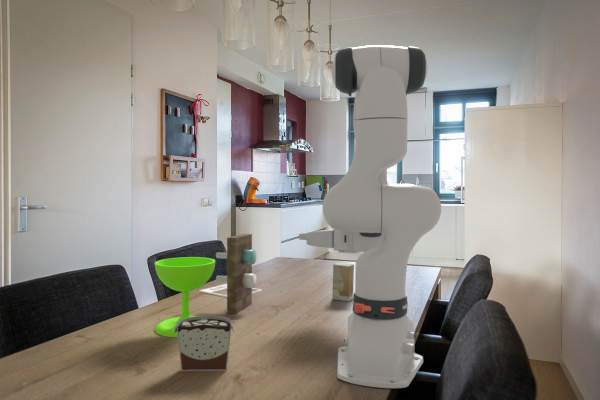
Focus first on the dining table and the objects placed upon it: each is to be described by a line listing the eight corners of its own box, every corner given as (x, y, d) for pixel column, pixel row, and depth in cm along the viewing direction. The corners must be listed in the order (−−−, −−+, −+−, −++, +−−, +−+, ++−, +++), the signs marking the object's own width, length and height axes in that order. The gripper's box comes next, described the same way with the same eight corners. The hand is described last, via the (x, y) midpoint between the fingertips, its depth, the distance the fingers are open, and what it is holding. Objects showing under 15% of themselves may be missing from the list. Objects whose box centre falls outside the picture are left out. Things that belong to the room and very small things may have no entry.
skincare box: (331, 299, 149) (332, 264, 149) (336, 296, 153) (337, 262, 153) (349, 301, 146) (349, 265, 146) (354, 299, 150) (354, 263, 150)
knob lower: (256, 286, 139) (256, 272, 139) (250, 289, 134) (250, 275, 134) (220, 283, 142) (220, 270, 142) (213, 286, 138) (213, 272, 138)
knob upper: (256, 262, 138) (256, 249, 138) (250, 265, 134) (250, 250, 134) (220, 260, 142) (220, 247, 142) (213, 263, 138) (213, 249, 138)
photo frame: (227, 283, 172) (262, 289, 162) (227, 285, 172) (262, 292, 162) (199, 289, 160) (234, 297, 150) (199, 292, 160) (234, 300, 150)
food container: (237, 359, 97) (237, 314, 97) (233, 370, 91) (233, 322, 90) (181, 359, 96) (181, 314, 96) (174, 371, 90) (173, 323, 90)
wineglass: (153, 322, 123) (153, 258, 123) (210, 316, 129) (210, 255, 129) (156, 340, 108) (155, 268, 108) (220, 333, 114) (220, 264, 114)
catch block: (251, 303, 143) (251, 234, 143) (236, 313, 132) (236, 237, 131) (243, 303, 144) (243, 233, 144) (227, 312, 133) (227, 237, 132)
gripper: (351, 226, 138) (309, 225, 142) (338, 228, 119) (290, 226, 123) (350, 245, 138) (308, 244, 142) (338, 251, 119) (289, 249, 122)
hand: (300, 236), depth 132 cm, fingers closed
